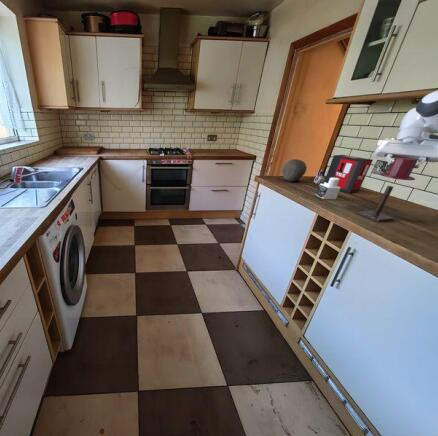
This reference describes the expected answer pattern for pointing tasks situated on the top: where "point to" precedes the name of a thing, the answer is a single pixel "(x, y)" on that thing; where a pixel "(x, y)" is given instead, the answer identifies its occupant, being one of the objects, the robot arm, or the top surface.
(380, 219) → the hat stand
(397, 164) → the hat
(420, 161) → the robot arm
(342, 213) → the top surface
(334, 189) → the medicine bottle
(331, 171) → the cleaning product box
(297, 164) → the grey stone ball
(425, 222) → the top surface
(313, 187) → the top surface
